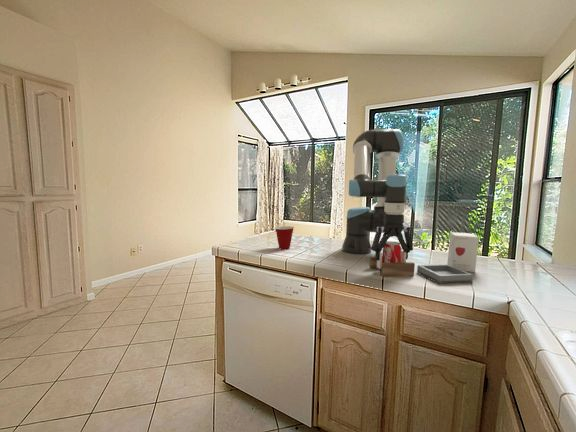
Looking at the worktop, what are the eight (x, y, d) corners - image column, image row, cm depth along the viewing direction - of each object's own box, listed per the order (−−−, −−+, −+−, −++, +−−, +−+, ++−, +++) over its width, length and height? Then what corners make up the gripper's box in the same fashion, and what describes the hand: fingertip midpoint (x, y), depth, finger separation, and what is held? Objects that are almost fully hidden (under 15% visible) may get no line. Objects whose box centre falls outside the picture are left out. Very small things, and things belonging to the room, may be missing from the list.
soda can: (401, 274, 111) (403, 245, 110) (382, 273, 113) (384, 244, 111) (398, 269, 118) (399, 241, 117) (380, 268, 120) (382, 240, 118)
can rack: (369, 267, 120) (369, 256, 120) (397, 266, 122) (398, 255, 122) (382, 276, 109) (383, 264, 108) (413, 275, 111) (414, 263, 110)
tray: (417, 272, 115) (417, 265, 114) (446, 271, 117) (447, 264, 117) (439, 283, 102) (440, 275, 101) (472, 282, 104) (473, 274, 103)
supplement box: (450, 270, 119) (453, 235, 117) (446, 264, 127) (449, 231, 126) (475, 272, 116) (479, 236, 114) (470, 266, 124) (473, 233, 122)
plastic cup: (283, 245, 162) (283, 224, 160) (298, 248, 155) (298, 226, 153) (270, 248, 153) (270, 226, 152) (285, 251, 146) (285, 228, 145)
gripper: (371, 214, 107) (369, 271, 110) (425, 214, 111) (421, 269, 113) (363, 212, 115) (361, 265, 117) (414, 212, 118) (410, 264, 121)
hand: (390, 267), depth 115 cm, fingers open, 10 cm apart
